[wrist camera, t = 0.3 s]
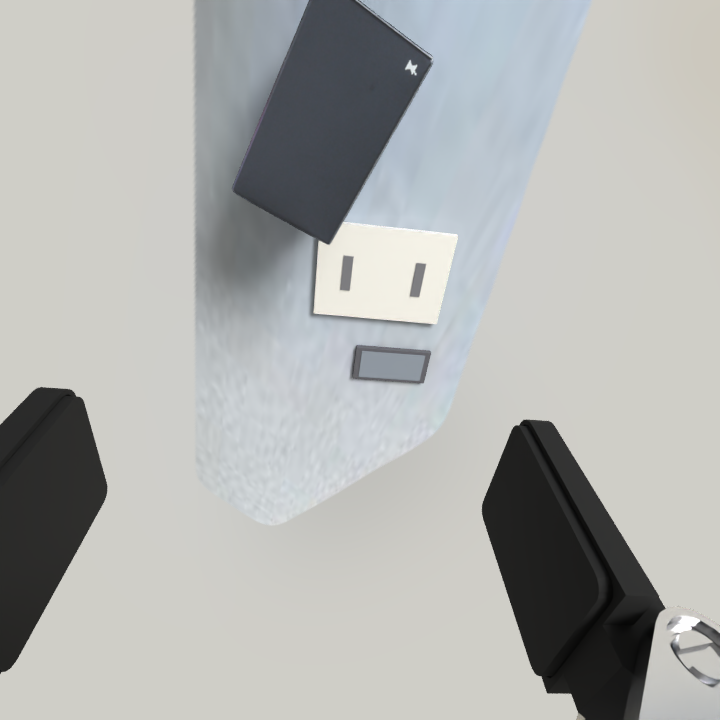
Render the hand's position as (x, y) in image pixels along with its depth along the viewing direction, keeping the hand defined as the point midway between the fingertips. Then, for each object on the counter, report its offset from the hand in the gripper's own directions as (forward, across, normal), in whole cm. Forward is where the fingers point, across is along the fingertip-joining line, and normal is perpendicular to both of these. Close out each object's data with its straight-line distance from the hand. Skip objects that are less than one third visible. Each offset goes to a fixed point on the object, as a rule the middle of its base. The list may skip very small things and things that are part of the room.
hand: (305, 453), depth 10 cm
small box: (+28, 0, -5) cm, 28 cm away
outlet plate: (+28, -5, +6) cm, 29 cm away
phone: (+28, -7, +15) cm, 33 cm away
